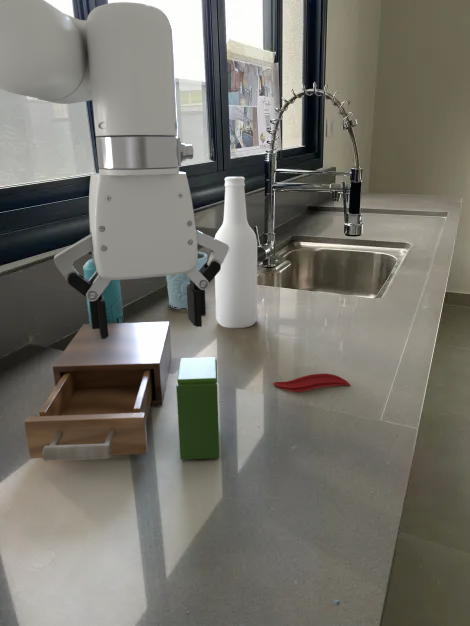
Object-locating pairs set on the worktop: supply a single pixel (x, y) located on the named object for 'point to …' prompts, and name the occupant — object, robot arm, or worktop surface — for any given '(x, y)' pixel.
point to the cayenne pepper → (311, 382)
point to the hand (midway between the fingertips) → (150, 328)
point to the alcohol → (236, 262)
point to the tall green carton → (198, 408)
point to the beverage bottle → (107, 296)
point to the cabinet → (121, 352)
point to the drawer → (93, 416)
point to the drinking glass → (182, 285)
